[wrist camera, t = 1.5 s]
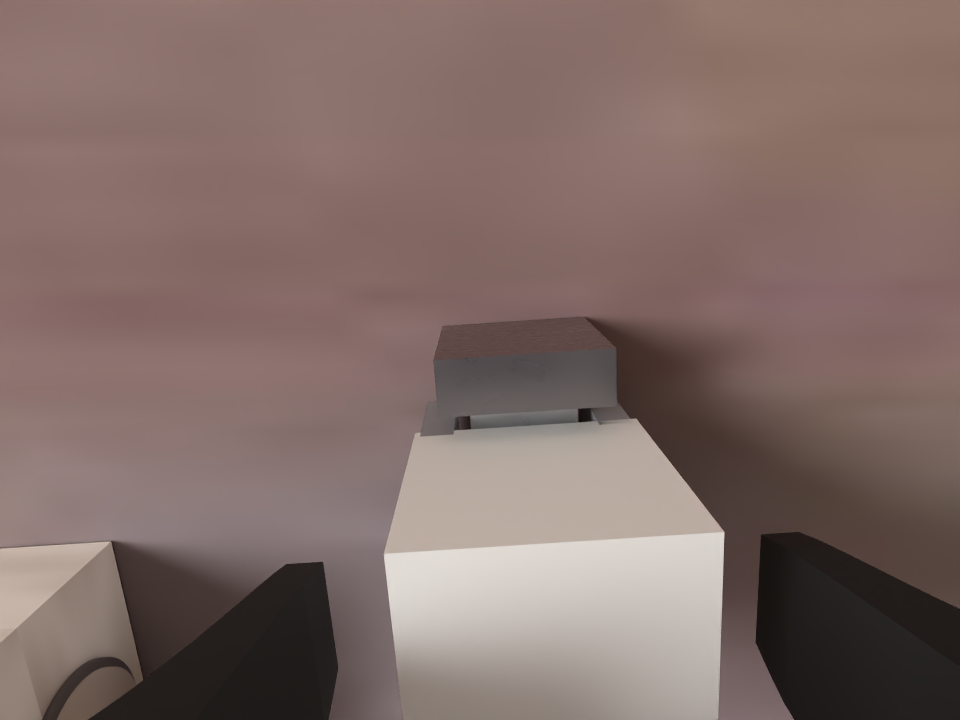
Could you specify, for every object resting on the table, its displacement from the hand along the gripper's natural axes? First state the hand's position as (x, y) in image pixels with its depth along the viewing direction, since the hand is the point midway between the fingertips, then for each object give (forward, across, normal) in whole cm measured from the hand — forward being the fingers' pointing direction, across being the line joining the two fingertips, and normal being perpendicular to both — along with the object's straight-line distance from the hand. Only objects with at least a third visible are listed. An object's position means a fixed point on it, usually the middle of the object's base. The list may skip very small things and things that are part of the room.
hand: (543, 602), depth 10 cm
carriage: (+4, 0, 0) cm, 4 cm away
